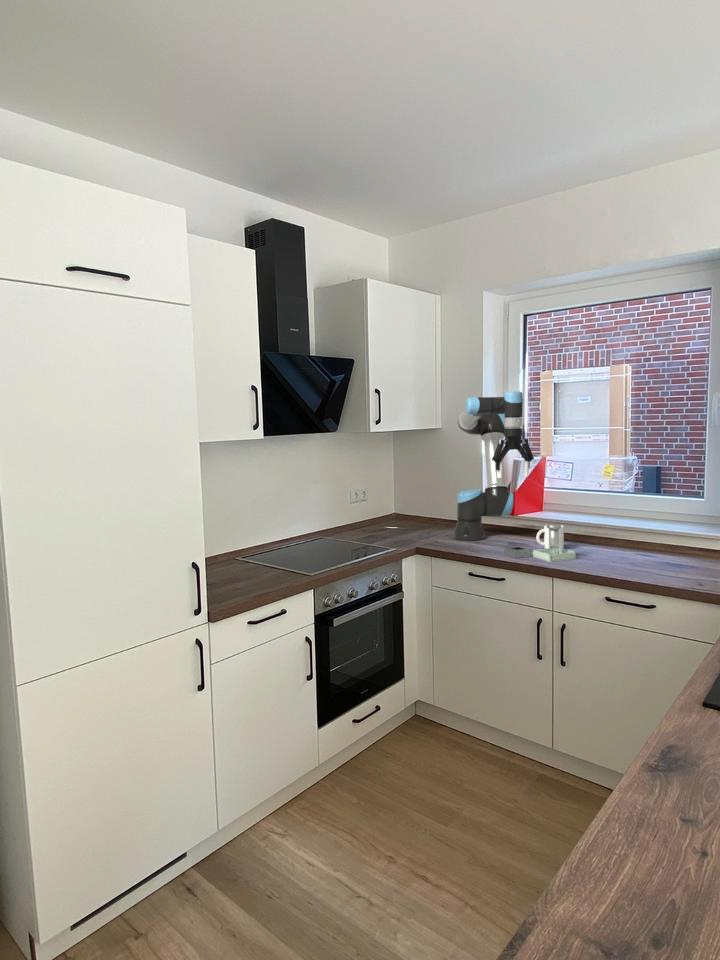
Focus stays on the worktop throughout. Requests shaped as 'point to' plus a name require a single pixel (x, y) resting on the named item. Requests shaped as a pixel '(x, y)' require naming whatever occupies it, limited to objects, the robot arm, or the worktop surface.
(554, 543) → the pin
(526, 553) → the hitch plate
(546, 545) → the mug
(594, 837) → the worktop surface
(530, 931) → the worktop surface
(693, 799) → the worktop surface
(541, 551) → the tray
